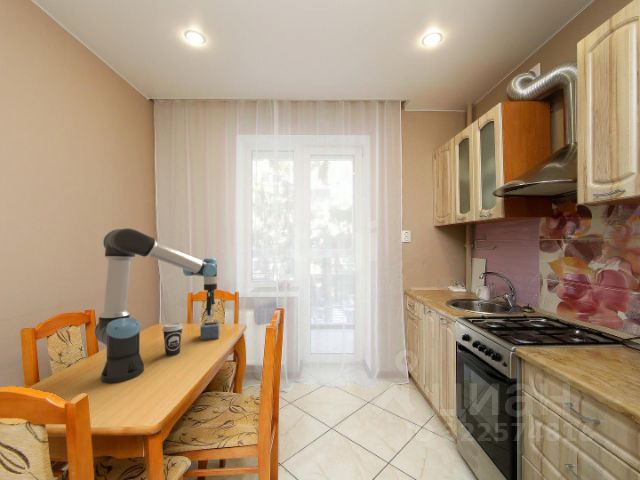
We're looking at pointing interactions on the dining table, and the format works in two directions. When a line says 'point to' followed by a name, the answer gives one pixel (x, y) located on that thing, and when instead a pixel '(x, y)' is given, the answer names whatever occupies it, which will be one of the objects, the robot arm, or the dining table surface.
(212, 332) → the coin box
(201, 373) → the dining table surface
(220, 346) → the dining table surface
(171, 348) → the coffee cup
